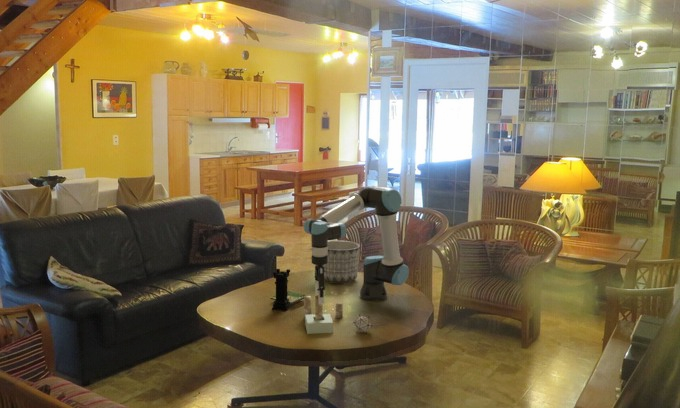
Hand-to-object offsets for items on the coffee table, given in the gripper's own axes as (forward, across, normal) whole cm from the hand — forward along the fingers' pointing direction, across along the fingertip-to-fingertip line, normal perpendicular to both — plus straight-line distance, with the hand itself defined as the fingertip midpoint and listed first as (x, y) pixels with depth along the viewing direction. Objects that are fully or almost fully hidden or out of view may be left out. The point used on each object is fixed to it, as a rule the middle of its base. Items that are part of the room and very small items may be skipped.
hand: (319, 298), depth 279 cm
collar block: (+15, 0, -1) cm, 15 cm away
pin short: (+15, -15, +11) cm, 24 cm away
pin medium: (+15, -15, -4) cm, 21 cm away
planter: (+16, -80, +20) cm, 84 cm away
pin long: (+15, 0, -1) cm, 15 cm away
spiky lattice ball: (+15, +7, +19) cm, 26 cm away
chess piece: (+15, -32, -17) cm, 39 cm away
